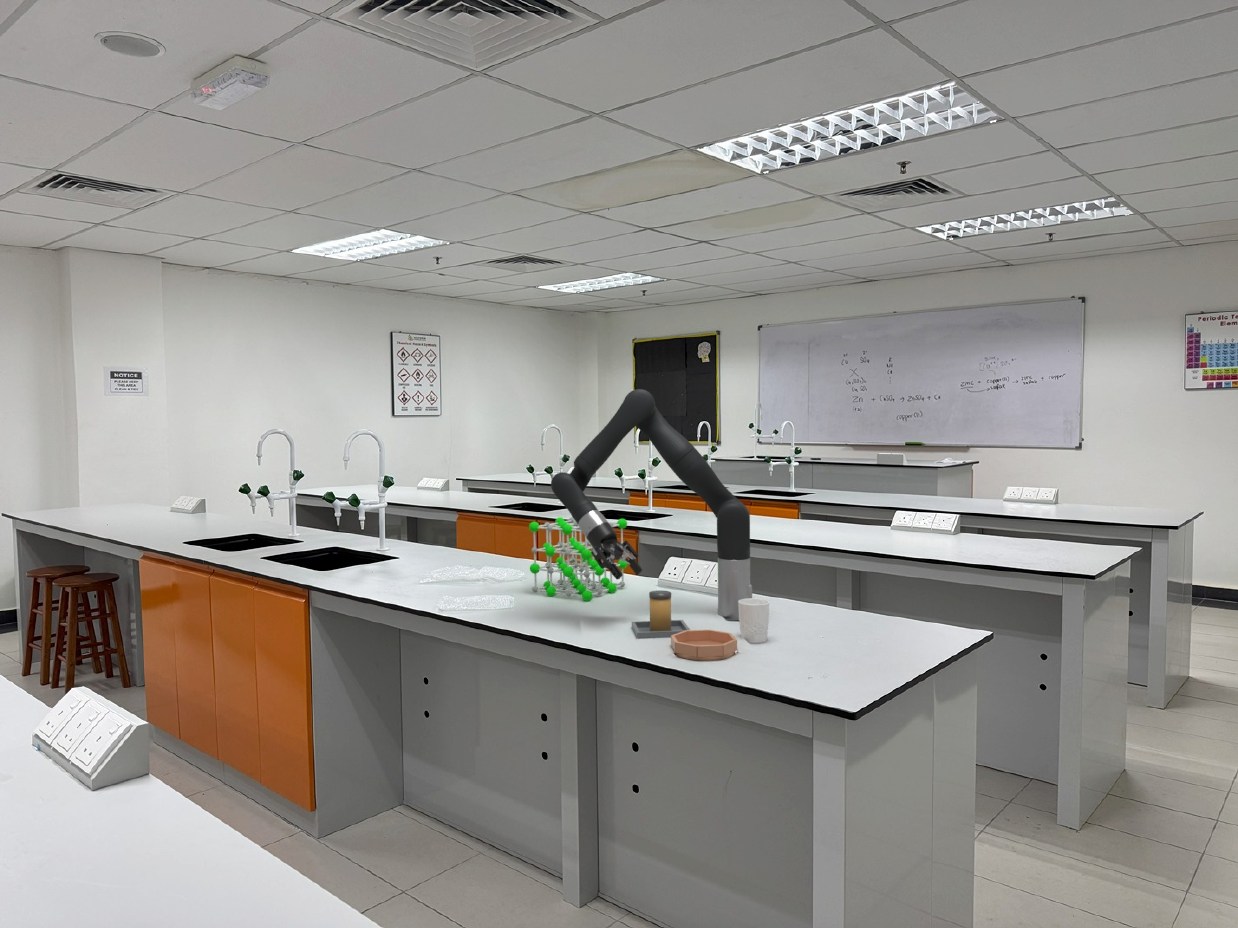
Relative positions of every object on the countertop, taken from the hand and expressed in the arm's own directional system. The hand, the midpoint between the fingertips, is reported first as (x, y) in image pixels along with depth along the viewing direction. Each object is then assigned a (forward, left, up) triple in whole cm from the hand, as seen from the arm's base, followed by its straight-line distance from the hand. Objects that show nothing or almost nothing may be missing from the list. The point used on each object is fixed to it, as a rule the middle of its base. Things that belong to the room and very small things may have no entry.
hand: (630, 575), depth 222 cm
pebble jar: (-7, +7, -14) cm, 17 cm away
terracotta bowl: (-15, +24, -15) cm, 32 cm away
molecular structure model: (+11, -54, -15) cm, 57 cm away
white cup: (-30, +15, -15) cm, 37 cm away
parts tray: (-7, +7, -15) cm, 18 cm away
